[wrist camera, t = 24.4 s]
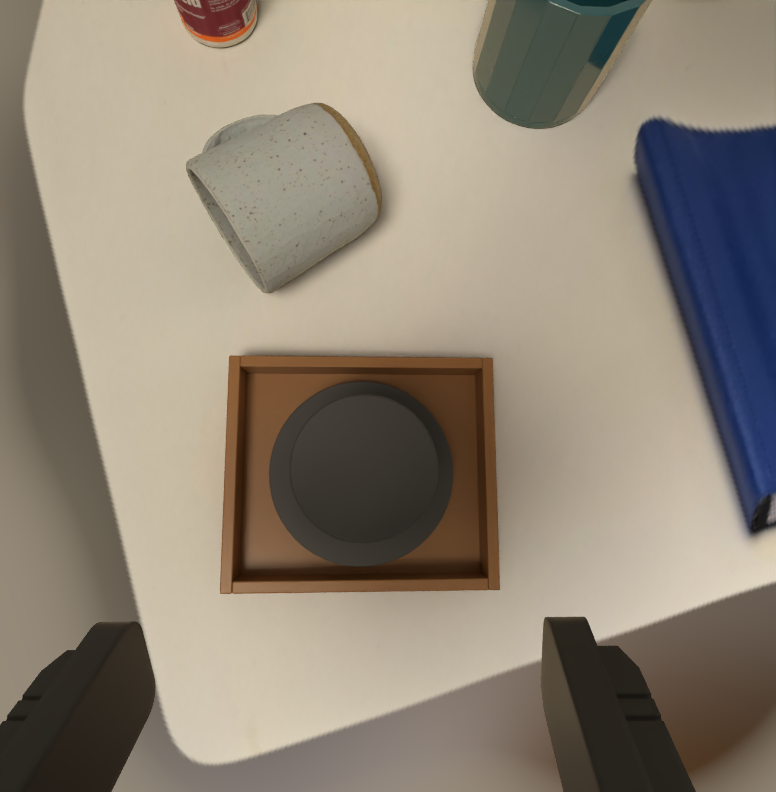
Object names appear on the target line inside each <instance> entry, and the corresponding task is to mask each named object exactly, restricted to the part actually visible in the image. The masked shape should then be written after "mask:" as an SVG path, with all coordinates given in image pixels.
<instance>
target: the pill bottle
mask: <svg viewBox="0 0 776 792" xmlns="http://www.w3.org/2000/svg"><path fill="white" fill-rule="evenodd" d="M174 1H175V4H176V6H177V9H178V12H179V14H180V17H181V20H182V22H183V25H184V27H185V28H186V30H187V31H188V33H189V34H190V35H191V36H192V37H193V38H194V39H195V40H197V41H198V42H200V43H202V44H205V45H207V46H211V47H228V46H232V45H235V44H237V43H239V42H241V41H243V40H244V39H246V38H247V37H248V36H249V35H250V34H251V32H252V31H253V29H254V27H255V25H256V21H257V6H256V0H174Z"/></svg>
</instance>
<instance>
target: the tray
mask: <svg viewBox="0 0 776 792" xmlns="http://www.w3.org/2000/svg"><path fill="white" fill-rule="evenodd" d="M359 381H365V382H376V383H381V384H386V385H389V386H391V387H394V388H397V389H399V390H401V391H403V392H405V393H407V394H409V395H410V396H412V397H413V398H415V399H416V400H418V401H419V402H420V403H421V404H422V405H423V406H425V407H426V408H427V410H428V411H429V412H430V413H431V414H432V415H433V416H434V418H435V419H436V421H437V422H438V424H439V425H440V427H441V428H442V430H443V432H444V434H445V436H446V439H447V442H448V445H449V447H450V452H451V456H452V463H453V485H452V491H451V496H450V499H449V503H448V506H447V508H446V511H445V513H444V515H443V517H442V519H441V521H440V522H439V524H438V525H437V527H436V528H435V530H434V531H433V532H432V533H431V535H430V536H429V537H428V538H427V539H426V540H425V541H424V542H423V543H422V544H421V545H420V546H418V547H417V548H416V549H414V550H413V551H411V552H410V553H408V554H407V555H405V556H403V557H401V558H399V559H397V560H394V561H391V562H388V563H385V564H381V565H376V566H367V567H354V566H345V565H340V564H336V563H333V562H330V561H327V560H325V559H323V558H321V557H319V556H317V555H315V554H313V553H312V552H310V551H309V550H307V549H306V548H304V547H303V546H302V545H301V544H300V543H299V542H298V541H297V540H295V539H294V537H293V536H292V535H291V534H290V533H289V531H288V530H287V529H286V527H285V526H284V524H283V523H282V521H281V519H280V517H279V515H278V513H277V511H276V509H275V506H274V503H273V499H272V496H271V490H270V484H269V467H270V458H271V454H272V450H273V446H274V444H275V441H276V438H277V436H278V434H279V432H280V430H281V428H282V426H283V425H284V423H285V422H286V420H287V419H288V418H289V416H290V415H291V414H292V413H293V412H294V411H295V410H296V409H297V407H298V406H300V405H301V404H302V403H303V402H304V401H306V400H307V399H308V398H310V397H311V396H313V395H315V394H316V393H318V392H320V391H322V390H324V389H326V388H329V387H332V386H335V385H338V384H342V383H348V382H359ZM488 589H489V590H500V575H499V543H498V512H497V480H496V449H495V418H494V386H493V359H492V358H445V357H335V356H229V375H228V401H227V426H226V451H225V477H224V502H223V527H222V553H221V578H220V593H221V594H231V593H233V594H241V593H314V592H386V591H458V590H488Z"/></svg>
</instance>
